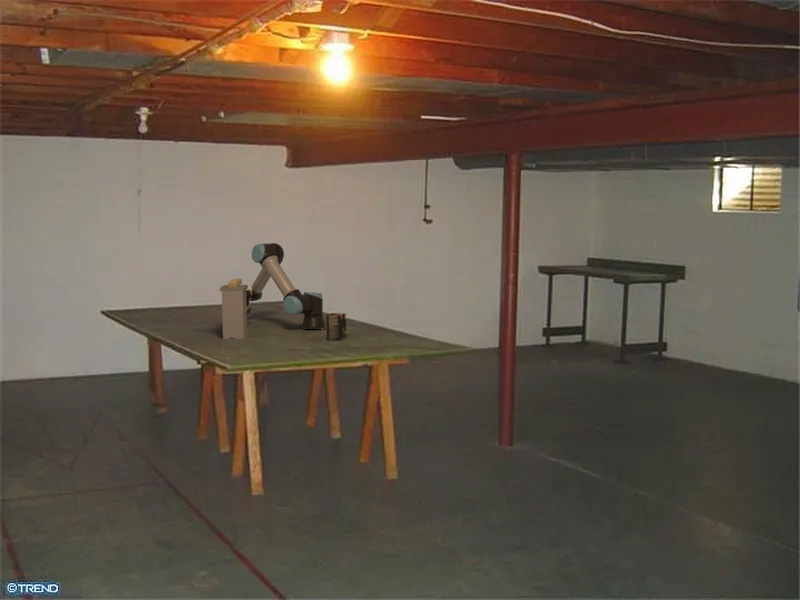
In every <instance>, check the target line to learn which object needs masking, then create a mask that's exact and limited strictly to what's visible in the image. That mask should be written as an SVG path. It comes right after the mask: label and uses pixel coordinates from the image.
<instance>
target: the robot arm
mask: <svg viewBox="0 0 800 600" xmlns="http://www.w3.org/2000/svg"><path fill="white" fill-rule="evenodd" d="M284 257H285V251H284V248H283V247H282V246H281V245H280V244H279V243H277V242H272V243H270V242H269V243H258V244H255V245H254V246H253V248H252V249H251V258H252V261H253V262H254V263H257V264H259V265H260V266H261V270H260V271H259V273H258V275H257V276H256V278H255V280H254V281H253V283H252V285H251V286H250V287H249V289H246V303H247V317H249V316H251V314H252V312H253V311H252V306H251V303H250V302H257V301H259V300H261V299H262V298H263V290H264V288H265V286H266V285H267V284H268V282H269V280H270V279H272V280H273V282H274V284H275V285H276V287H277V288H278V290H279V291H280V294H282V296H283V298H282V300H283V301H282V305H283V310H284V311H285V312H286V313H287V314H288V315H291V316H292V315H293V316H297V315H303V320H302V323H301V330H303V329H321V328H326V329H327V327H326V322H325V319H324V315H323V313H324V312H323V311H324V310H323V300H324V299H323V294H322V293H321V292H311V291H310V292H309V291H304V292H303V294H302V292H301V291H300V289H297V288H295V286H294V284H293V283H292V281H291V280H290V279H289V277H288V275H287V274H286V272H285V271H284V269H283V267H282V266H281V265H282V262H283V260H284Z"/></svg>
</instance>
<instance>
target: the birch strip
mask: <svg viewBox="0 0 800 600" xmlns="http://www.w3.org/2000/svg"><path fill="white" fill-rule="evenodd" d="M227 285H228V288H236V287H238V286H239V285H243V279H242V278H232V280H230V281H228V282H227Z"/></svg>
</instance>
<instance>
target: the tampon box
mask: <svg viewBox="0 0 800 600" xmlns="http://www.w3.org/2000/svg"><path fill="white" fill-rule="evenodd" d="M325 318H326V319H325V321H326V322H325V325H326V340H327V339H329V340H328V341H343V340H345V339H347V313H344V312H343V313H341V312H337V313H335V312H331V313H328V314H326V315H325Z"/></svg>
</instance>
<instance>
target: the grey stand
mask: <svg viewBox="0 0 800 600" xmlns="http://www.w3.org/2000/svg"><path fill="white" fill-rule="evenodd" d="M248 286H249V285H248V284H240V285H239V286H238V287H236V288H228V284H227V285H226V284H225V285H222V286H221V287H219V292H221V315H222V316H221V317H222V340H230V339H229V338H235V339H234V340H245V339H246V337H247V336H248V316H247V303H246V290H248V288H249V287H248ZM246 335H247V336H246Z"/></svg>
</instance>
